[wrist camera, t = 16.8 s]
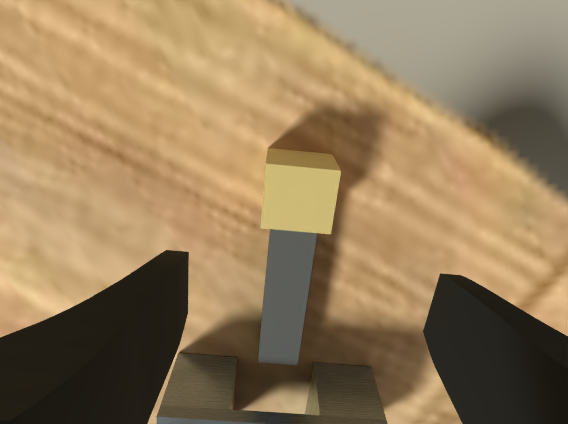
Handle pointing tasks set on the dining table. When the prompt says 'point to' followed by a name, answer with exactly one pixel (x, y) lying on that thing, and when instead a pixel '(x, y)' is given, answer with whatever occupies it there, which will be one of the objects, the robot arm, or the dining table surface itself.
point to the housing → (224, 420)
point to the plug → (292, 243)
